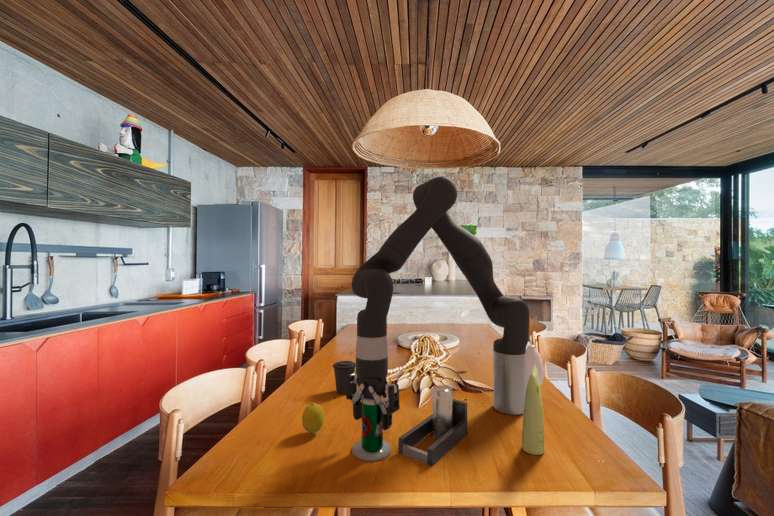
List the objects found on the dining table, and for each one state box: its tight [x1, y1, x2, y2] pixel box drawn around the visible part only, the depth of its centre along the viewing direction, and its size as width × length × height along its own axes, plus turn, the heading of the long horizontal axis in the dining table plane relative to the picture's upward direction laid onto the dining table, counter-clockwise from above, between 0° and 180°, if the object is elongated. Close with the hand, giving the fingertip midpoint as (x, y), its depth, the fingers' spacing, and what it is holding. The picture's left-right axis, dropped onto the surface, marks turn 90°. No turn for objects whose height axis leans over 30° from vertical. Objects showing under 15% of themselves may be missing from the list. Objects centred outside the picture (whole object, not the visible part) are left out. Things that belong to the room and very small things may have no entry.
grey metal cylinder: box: [432, 384, 454, 441], centre depth 89 cm, size 5×5×12 cm
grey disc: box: [351, 439, 392, 462], centre depth 83 cm, size 9×9×1 cm
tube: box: [521, 363, 545, 456], centre depth 83 cm, size 6×5×20 cm
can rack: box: [397, 398, 468, 467], centre depth 86 cm, size 18×9×8 cm, turn 143°
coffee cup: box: [332, 360, 356, 396], centre depth 120 cm, size 8×8×10 cm
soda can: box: [361, 396, 384, 452], centre depth 83 cm, size 5×5×12 cm
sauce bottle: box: [526, 337, 545, 389], centre depth 121 cm, size 8×8×18 cm
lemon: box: [301, 402, 325, 435], centre depth 91 cm, size 6×6×8 cm
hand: (371, 423), depth 83 cm, fingers open, 8 cm apart
